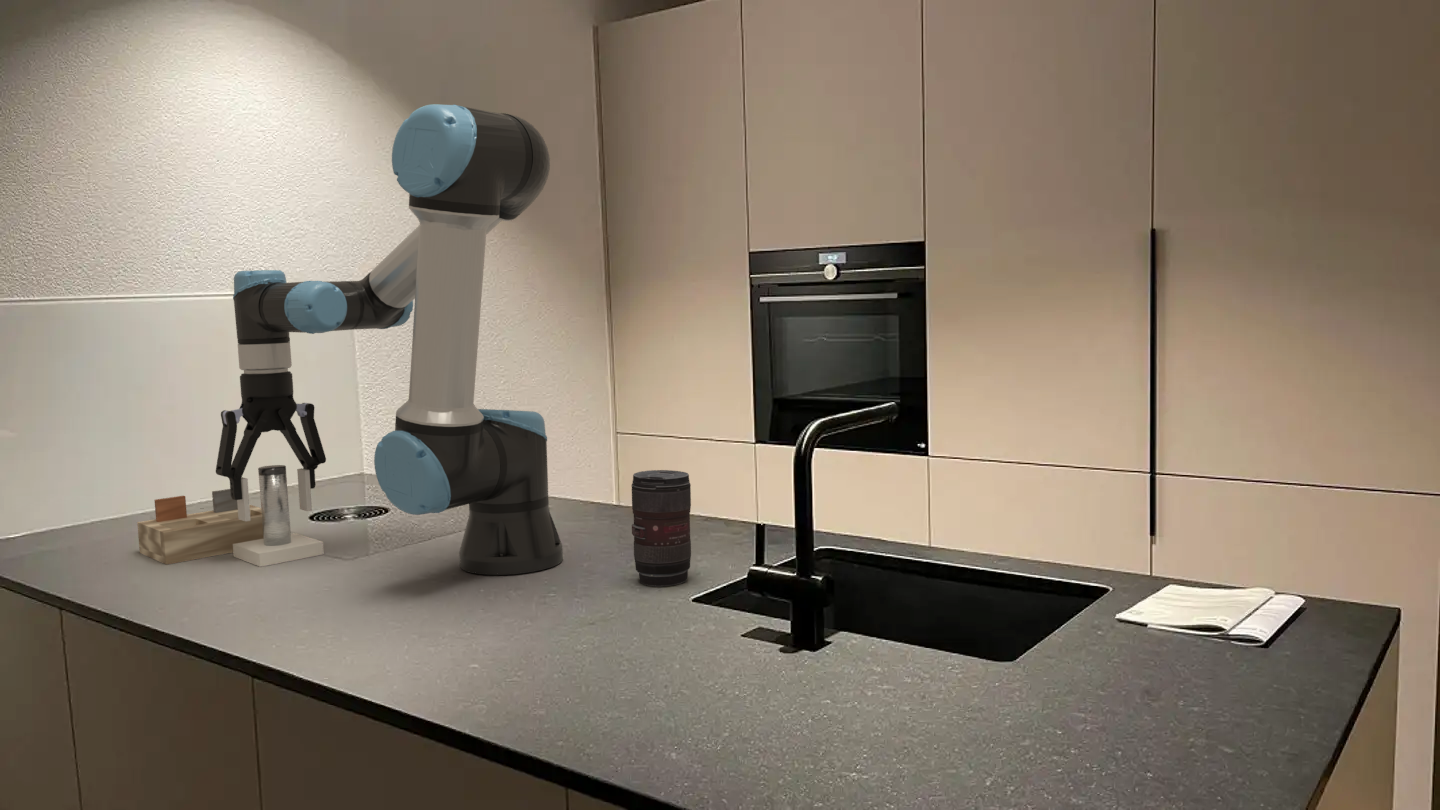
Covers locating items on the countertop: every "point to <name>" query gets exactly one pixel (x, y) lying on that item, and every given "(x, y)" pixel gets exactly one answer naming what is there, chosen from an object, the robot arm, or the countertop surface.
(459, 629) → the countertop surface
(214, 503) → the socket block
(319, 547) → the plate
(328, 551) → the countertop surface
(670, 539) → the camera lens
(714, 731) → the countertop surface
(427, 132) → the robot arm
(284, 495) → the shaker with dark cap
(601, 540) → the countertop surface
